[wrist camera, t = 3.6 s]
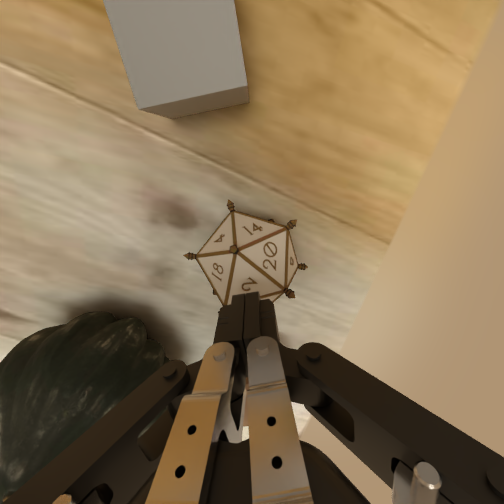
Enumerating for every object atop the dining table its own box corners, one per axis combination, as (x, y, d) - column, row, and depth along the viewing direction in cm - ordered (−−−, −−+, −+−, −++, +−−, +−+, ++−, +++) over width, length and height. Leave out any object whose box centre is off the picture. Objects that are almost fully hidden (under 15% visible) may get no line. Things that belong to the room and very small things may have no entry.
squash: (80, 459, 28) (69, 622, 15) (-38, 376, 23) (-191, 511, 11) (178, 359, 34) (228, 415, 22) (102, 278, 30) (109, 289, 17)
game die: (237, 215, 25) (198, 163, 16) (318, 240, 23) (328, 197, 14) (205, 297, 24) (141, 294, 15) (286, 331, 22) (273, 354, 13)
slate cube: (172, 119, 19) (137, 109, 13) (144, 18, 16) (88, -46, 11) (249, 102, 18) (247, 85, 13) (232, -4, 16) (220, -82, 10)
